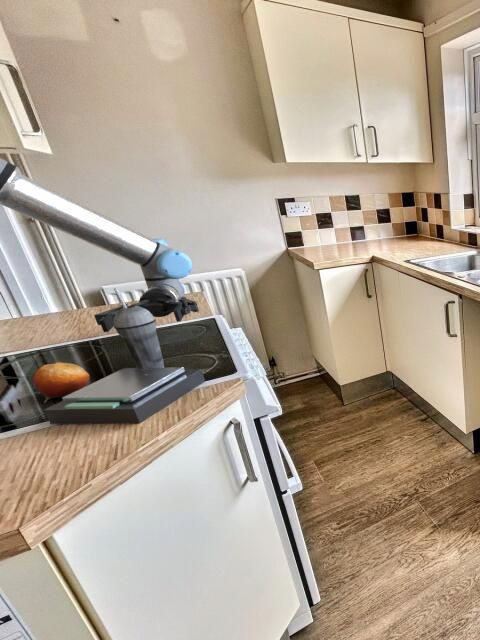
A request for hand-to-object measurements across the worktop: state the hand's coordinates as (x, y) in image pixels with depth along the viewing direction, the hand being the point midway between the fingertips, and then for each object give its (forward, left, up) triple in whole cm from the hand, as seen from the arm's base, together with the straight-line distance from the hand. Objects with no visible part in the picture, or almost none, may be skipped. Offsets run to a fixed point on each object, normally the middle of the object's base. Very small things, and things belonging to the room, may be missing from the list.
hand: (141, 321), depth 99 cm
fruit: (-6, -15, -11) cm, 20 cm away
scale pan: (+11, -19, -7) cm, 23 cm away
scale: (+11, -19, -11) cm, 24 cm away
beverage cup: (+2, -4, -11) cm, 12 cm away
